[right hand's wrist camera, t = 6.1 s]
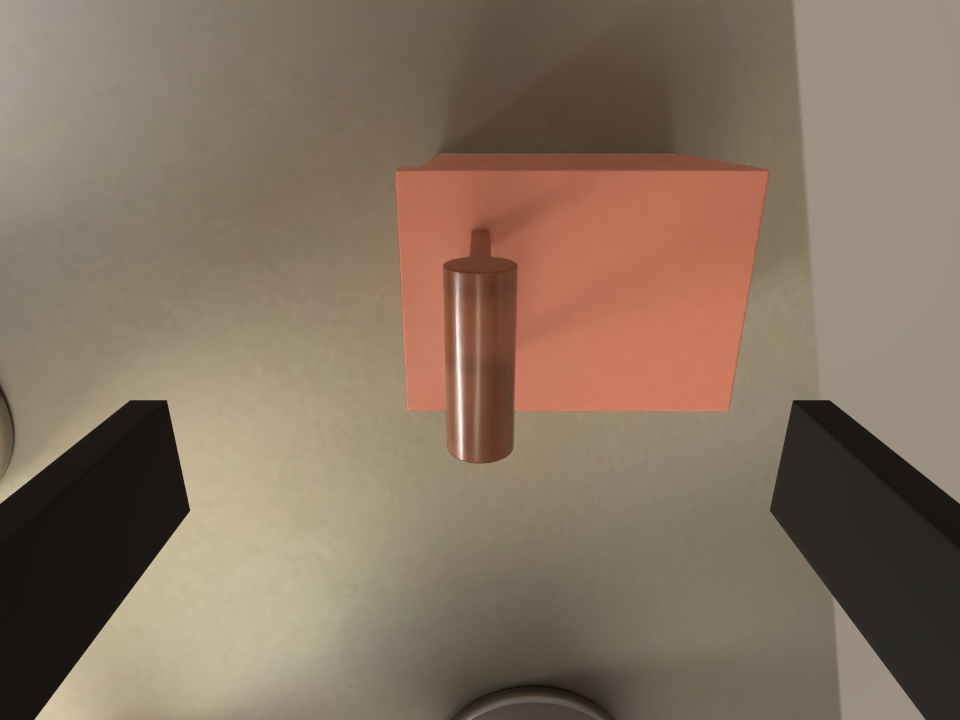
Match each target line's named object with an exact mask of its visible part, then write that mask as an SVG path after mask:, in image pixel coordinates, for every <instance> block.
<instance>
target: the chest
mask: <svg viewBox="0 0 960 720" xmlns="http://www.w3.org/2000/svg"><path fill="white" fill-rule="evenodd" d="M421 168H756V167H751V166H745V165H739V164H733V163H727V162H721V161H715V160H709V159H703V158H697V157H691V156H685V155H681V154H675V153H439V154H437V156H436V157H434V158H433V159H432V160H431V161H429V162H428V163H427V164H425V165H424V166H423V167H421Z"/></svg>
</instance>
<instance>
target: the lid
mask: <svg viewBox="0 0 960 720" xmlns="http://www.w3.org/2000/svg"><path fill="white" fill-rule="evenodd" d="M395 174H396V194H397V214H398V234H399V254H400V275H401V295H402V315H403V335H404V356H405V376H406V396H407V410H408V411H446V422H447V449H448V451H449V453H450V454H451V455H452V456H454V457H455V458H457V459H459V460H462V461H465V462H470V463H491V462H496V461H499V460H502V459H504V458H505V457H507V456H508V455H509V454H510V453H511V452H512V450H513V447H514V411H729V407H730V401H731V395H732V390H733V384H734V378H735V372H736V366H737V360H738V354H739V348H740V342H741V336H742V330H743V324H744V319H745V313H746V307H747V301H748V295H749V289H750V283H751V277H752V271H753V265H754V259H755V253H756V248H757V242H758V236H759V230H760V224H761V218H762V212H763V206H764V200H765V194H766V188H767V182H768V177H769V170H768V169H762V168H399V169H397V170H396V172H395Z"/></svg>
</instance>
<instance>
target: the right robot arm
mask: <svg viewBox="0 0 960 720" xmlns="http://www.w3.org/2000/svg"><path fill="white" fill-rule="evenodd" d="M12 447H13V430H12V424H11V419H10V415H9V411H8V408H7V406H6V403H5V401H4V398H3V396H2V394H1V392H0V479H1V477H2V476H3V474H4V473H5V471H6V469H7V467H8V464H9V461H10V458H11V453H12ZM189 511H190V508H189V503H188V498H187V493H186V489H185V484H184V479H183V475H182V470H181V465H180V460H179V456H178V451H177V446H176V441H175V437H174V432H173V427H172V422H171V418H170V413H169V408H168V404H167V400H130V401H129V402H128V403H126V404H125V405H124V406H123V407H121V408H120V409H119V410H118V411H116V412H115V413H114V414H113V415H111V416H110V417H109V418H108V419H106V420H105V421H104V422H103V423H101V424H100V425H99V426H97V427H96V428H95V429H94V430H92V431H91V432H90V433H89V434H87V435H86V436H85V437H84V438H82V439H81V440H80V441H79V442H77V443H76V444H75V445H74V446H72V447H71V448H70V449H69V450H67V451H66V452H65V453H64V454H62V455H61V456H60V457H59V458H57V459H56V460H55V461H54V462H52V463H51V464H50V465H49V466H47V467H46V468H45V469H44V470H42V471H41V472H40V473H39V474H37V475H36V476H35V477H34V478H32V479H31V480H30V481H28V482H27V483H26V484H25V485H23V486H22V487H21V488H20V489H18V490H17V491H16V492H15V493H13V494H12V495H11V496H10V497H8V498H7V499H6V500H5V501H3V502H2V503H1V504H0V720H34V719H35V718H36V717H37V715H38V714H39V713H40V711H41V710H42V709H43V707H44V706H45V705H46V703H47V702H48V701H49V699H50V698H51V697H52V695H53V694H54V693H55V691H56V690H57V689H58V687H59V686H60V685H61V683H62V682H63V681H64V679H65V678H66V676H67V675H68V674H69V672H70V671H71V670H72V668H73V667H74V666H75V664H76V663H77V662H78V660H79V659H80V658H81V656H82V655H83V654H84V652H85V651H86V650H87V648H88V647H89V646H90V644H91V643H92V642H93V640H94V639H95V638H96V636H97V635H98V634H99V632H100V631H101V630H102V628H103V627H104V625H105V624H106V623H107V621H108V620H109V619H110V617H111V616H112V615H113V613H114V612H115V611H116V609H117V608H118V607H119V605H120V604H121V603H122V601H123V600H124V599H125V597H126V596H127V595H128V593H129V592H130V591H131V589H132V588H133V587H134V585H135V584H136V583H137V581H138V580H139V579H140V577H141V576H142V575H143V573H144V572H145V570H146V569H147V568H148V566H149V565H150V564H151V562H152V561H153V560H154V558H155V557H156V556H157V554H158V553H159V552H160V550H161V549H162V548H163V546H164V545H165V544H166V542H167V541H168V540H169V538H170V537H171V536H172V534H173V533H174V532H175V530H176V529H177V528H178V526H179V525H180V524H181V522H182V521H183V519H184V518H185V517H186V515H187V514H188V513H189ZM770 511H771V513H772V514H773V515H774V517H775V518H776V519H777V521H778V522H779V524H780V525H781V526H782V528H783V529H784V530H785V532H786V533H787V534H788V536H789V537H790V538H791V540H792V541H793V542H794V544H795V545H796V546H797V548H798V549H799V550H800V552H801V553H802V554H803V556H804V557H805V558H806V560H807V561H808V562H809V564H810V565H811V566H812V568H813V569H814V570H815V572H816V573H817V575H818V576H819V577H820V579H821V580H822V581H823V583H824V584H825V585H826V587H827V588H828V589H829V591H830V592H831V593H832V595H833V596H834V597H835V599H836V600H837V601H838V603H839V604H840V605H841V607H842V608H843V609H844V611H845V612H846V613H847V615H848V616H849V617H850V619H851V620H852V621H853V623H854V624H855V625H856V627H857V628H858V630H859V631H860V632H861V634H862V635H863V636H864V638H865V639H866V640H867V642H868V643H869V644H870V646H871V647H872V648H873V650H874V651H875V652H876V654H877V655H878V656H879V658H880V659H881V660H882V662H883V663H884V664H885V666H886V667H887V668H888V670H889V671H890V672H891V674H892V675H893V676H894V678H895V679H896V681H897V682H898V683H899V684H900V686H901V687H902V689H903V690H904V691H905V693H906V694H907V695H908V697H909V698H910V699H911V701H912V702H913V703H914V705H915V706H916V707H917V709H918V710H919V711H920V713H921V714H922V715H923V717H924V718H925V719H926V720H960V504H959V503H958V502H957V501H955V500H954V499H953V498H951V497H950V496H949V495H948V494H947V493H945V492H944V491H943V490H942V489H940V488H939V487H938V486H937V485H935V484H934V483H933V482H931V481H930V480H929V479H928V478H926V477H925V476H924V475H923V474H921V473H920V472H919V471H918V470H916V469H915V468H914V467H913V466H911V465H910V464H909V463H908V462H906V461H905V460H904V459H903V458H901V457H900V456H899V455H898V454H896V453H895V452H894V451H893V450H891V449H890V448H889V447H888V446H886V445H885V444H884V443H883V442H881V441H880V440H879V439H878V438H876V437H875V436H874V435H872V434H871V433H870V432H869V431H868V430H866V429H865V428H864V427H863V426H861V425H860V424H859V423H857V422H856V421H855V420H854V419H852V418H851V417H850V416H849V415H847V414H846V413H845V412H844V411H842V410H841V409H840V408H839V407H837V406H836V405H835V404H834V403H832V402H831V401H830V400H793V404H792V408H791V413H790V418H789V422H788V427H787V432H786V437H785V441H784V446H783V451H782V456H781V460H780V465H779V470H778V475H777V479H776V484H775V489H774V493H773V498H772V503H771V508H770Z"/></svg>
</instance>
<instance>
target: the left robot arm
mask: <svg viewBox="0 0 960 720" xmlns="http://www.w3.org/2000/svg"><path fill="white" fill-rule="evenodd" d="M453 720H611V719H610V717H609V716H608V715H607V714H606V713H605V712H604V711H603V710H602V709H601V708H600V707H598V706H597V705H595V704H594V703H592V702H591V701H589V700H587V699H585V698H583V697H581V696H579V695H576V694H573V693H570V692H567V691H563V690H559V689H553V688H545V687H522V688H514V689H508V690H504V691H500V692H496V693H493V694H490V695H488V696H485V697H483V698H481V699H479V700H477V701H475V702H473V703H472V704H470V705H469V706H467V707H466V708H465V709H463V710H462V711H461V712H460V713H459V714H458V715H457V716H456V717H455V718H454V719H453Z"/></svg>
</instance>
